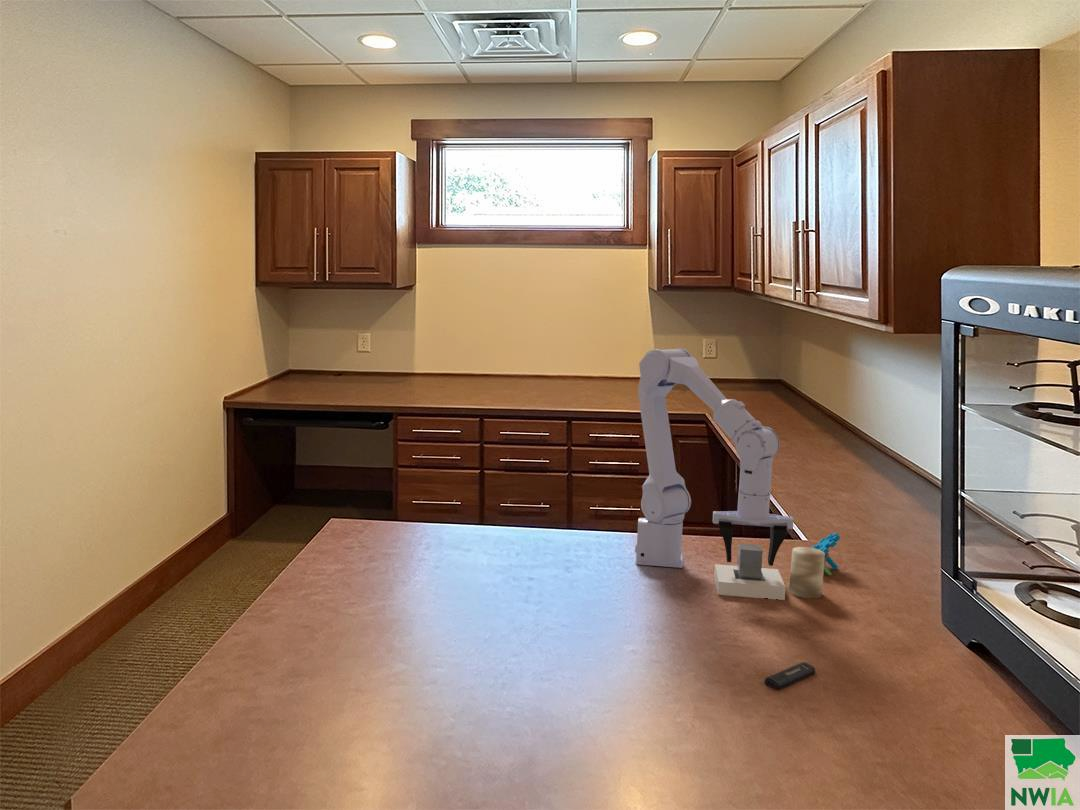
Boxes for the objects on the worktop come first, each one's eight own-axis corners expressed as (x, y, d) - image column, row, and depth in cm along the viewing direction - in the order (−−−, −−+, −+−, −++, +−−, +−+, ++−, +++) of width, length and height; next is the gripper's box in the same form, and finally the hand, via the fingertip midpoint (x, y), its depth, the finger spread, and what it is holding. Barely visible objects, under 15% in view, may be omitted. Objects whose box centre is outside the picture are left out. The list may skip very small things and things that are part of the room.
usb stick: (777, 694, 109) (778, 683, 109) (761, 686, 111) (762, 676, 111) (817, 676, 115) (817, 666, 114) (801, 669, 117) (802, 659, 116)
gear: (801, 549, 169) (838, 523, 164) (821, 570, 168) (858, 545, 163) (792, 570, 159) (830, 544, 154) (812, 593, 159) (852, 567, 154)
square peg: (738, 590, 148) (740, 549, 146) (736, 583, 151) (738, 543, 150) (759, 592, 147) (762, 551, 146) (757, 584, 151) (760, 544, 150)
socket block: (717, 594, 145) (718, 581, 145) (714, 576, 155) (714, 564, 154) (784, 600, 143) (785, 587, 143) (776, 581, 153) (777, 569, 153)
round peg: (791, 597, 145) (794, 555, 144) (786, 586, 151) (789, 545, 150) (824, 599, 144) (827, 557, 143) (818, 588, 150) (821, 548, 149)
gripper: (716, 494, 144) (711, 566, 145) (798, 500, 142) (792, 572, 143) (713, 486, 151) (709, 554, 152) (791, 491, 148) (786, 560, 150)
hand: (749, 562), depth 148 cm, fingers open, 7 cm apart
